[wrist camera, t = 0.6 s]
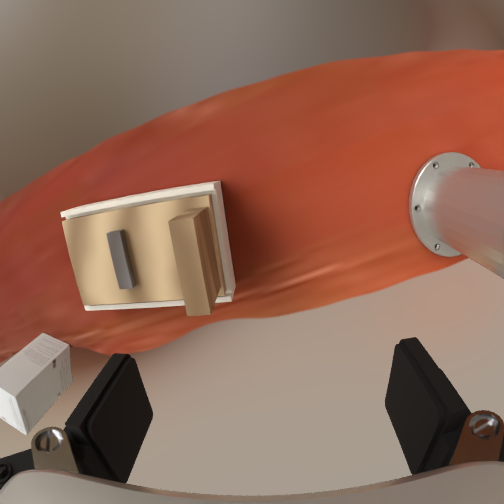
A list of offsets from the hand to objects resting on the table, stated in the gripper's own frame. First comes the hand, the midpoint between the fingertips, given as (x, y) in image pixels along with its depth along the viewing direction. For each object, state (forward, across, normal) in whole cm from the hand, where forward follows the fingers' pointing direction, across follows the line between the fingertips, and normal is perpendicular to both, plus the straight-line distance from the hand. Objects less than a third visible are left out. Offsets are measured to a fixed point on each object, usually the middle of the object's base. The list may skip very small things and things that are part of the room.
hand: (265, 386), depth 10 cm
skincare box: (+26, +34, +18) cm, 47 cm away
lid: (+22, +13, +1) cm, 26 cm away
